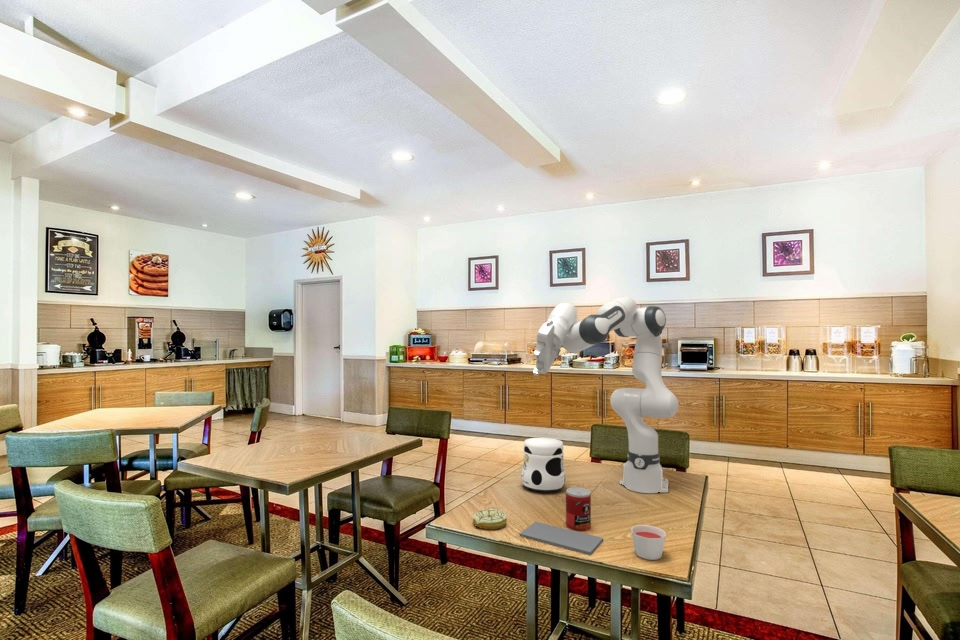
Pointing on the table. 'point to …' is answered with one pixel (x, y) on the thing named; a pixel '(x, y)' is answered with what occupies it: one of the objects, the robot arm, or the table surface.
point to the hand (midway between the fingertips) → (535, 365)
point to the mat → (562, 537)
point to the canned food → (578, 508)
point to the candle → (648, 541)
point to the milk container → (543, 464)
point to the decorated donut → (490, 518)
